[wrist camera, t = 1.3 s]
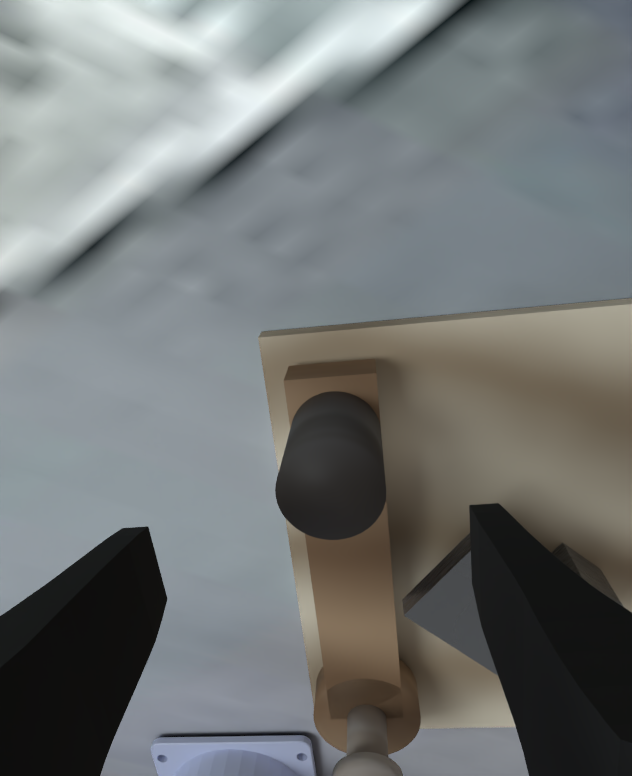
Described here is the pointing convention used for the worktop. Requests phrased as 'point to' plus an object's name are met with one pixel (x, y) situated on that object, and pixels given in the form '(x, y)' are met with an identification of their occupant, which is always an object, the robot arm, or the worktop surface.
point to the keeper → (457, 600)
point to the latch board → (481, 457)
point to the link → (348, 562)
